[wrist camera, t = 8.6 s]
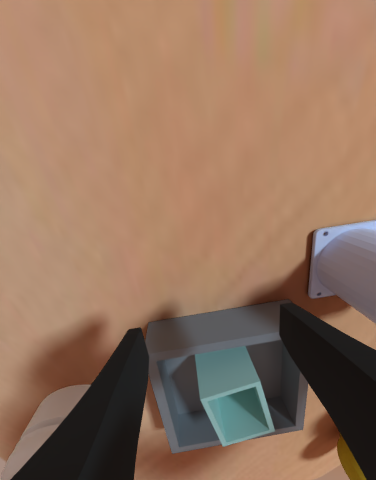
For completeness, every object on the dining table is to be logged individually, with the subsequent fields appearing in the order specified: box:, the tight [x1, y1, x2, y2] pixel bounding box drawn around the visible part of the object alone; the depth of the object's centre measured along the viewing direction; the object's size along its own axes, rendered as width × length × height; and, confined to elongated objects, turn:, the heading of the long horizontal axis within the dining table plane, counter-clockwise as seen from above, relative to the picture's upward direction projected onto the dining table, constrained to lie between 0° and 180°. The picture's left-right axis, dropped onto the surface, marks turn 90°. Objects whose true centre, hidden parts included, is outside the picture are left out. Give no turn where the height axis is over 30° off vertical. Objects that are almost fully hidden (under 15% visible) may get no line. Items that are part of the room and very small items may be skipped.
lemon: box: [337, 433, 366, 480], centre depth 27 cm, size 6×6×8 cm
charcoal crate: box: [145, 299, 308, 454], centre depth 21 cm, size 16×16×4 cm
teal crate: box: [195, 346, 275, 447], centre depth 20 cm, size 6×8×5 cm
